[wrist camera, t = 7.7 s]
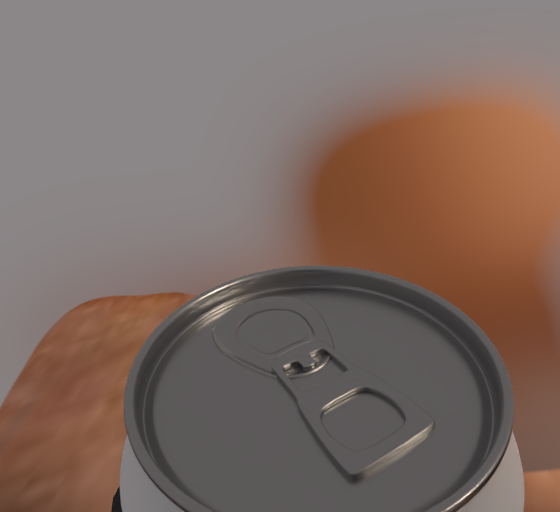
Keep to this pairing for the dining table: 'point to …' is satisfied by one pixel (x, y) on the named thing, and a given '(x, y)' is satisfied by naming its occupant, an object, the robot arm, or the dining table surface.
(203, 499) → the can
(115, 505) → the robot arm
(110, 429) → the dining table surface
